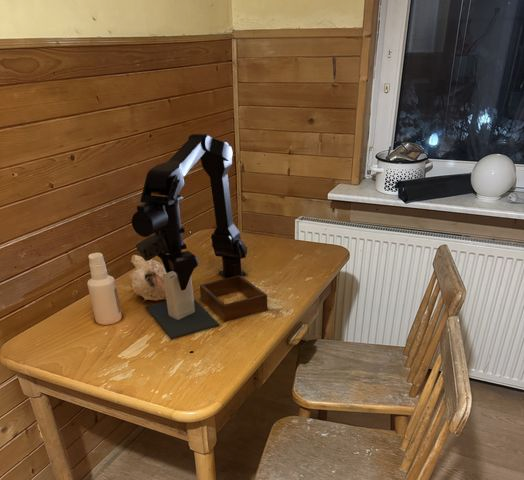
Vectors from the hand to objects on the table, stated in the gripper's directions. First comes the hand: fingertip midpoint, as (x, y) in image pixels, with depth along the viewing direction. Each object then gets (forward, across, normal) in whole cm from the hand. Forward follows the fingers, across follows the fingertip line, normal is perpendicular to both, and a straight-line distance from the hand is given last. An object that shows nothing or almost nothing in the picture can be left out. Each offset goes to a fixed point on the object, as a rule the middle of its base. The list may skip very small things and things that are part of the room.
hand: (176, 283), depth 129 cm
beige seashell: (+10, -19, -1) cm, 21 cm away
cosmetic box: (+9, 0, 0) cm, 9 cm away
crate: (+10, +1, +15) cm, 18 cm away
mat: (+10, 0, 0) cm, 10 cm away
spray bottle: (+10, -9, -17) cm, 22 cm away
